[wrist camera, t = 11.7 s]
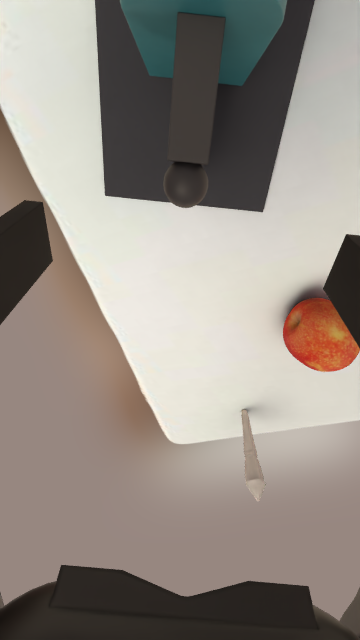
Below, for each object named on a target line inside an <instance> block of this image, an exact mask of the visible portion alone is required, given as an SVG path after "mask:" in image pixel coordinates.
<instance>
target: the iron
mask: <svg viewBox="0 0 360 640" xmlns="http://www.w3.org/2000/svg"><path fill="white" fill-rule="evenodd" d="M120 4H121V7H122V10H123V12H124V15H125V17H126V19H127V22H128V24H129V27H130V29H131V32H132V34H133V36H134V39H135V41H136V44H137V46H138V49H139V51H140V53H141V56H142V58H143V61H144V63H145V66H146V68H147V70H148V73H149V75H150V76H157V77H166V78H173V84H172V99H171V113H170V127H169V142H168V156H167V160H168V161H172V162H174V163H173V164H172V165H171V166H170V167H169V168H168V169H167V171H166V173H165V176H164V181H163V186H164V191H165V194H166V196H167V198H168V199H169V200H170V201H171V202H172V203H173V204H175V205H176V206H179V207H182V208H189V207H193V206H195V205H197V204H198V203H200V202H201V201H202V200H203V198H204V197H205V195H206V193H207V189H208V177H207V174H206V172H205V170H204V168H203V167H202V165H207V164H208V162H209V154H210V146H211V138H212V129H213V121H214V113H215V104H216V96H217V88H218V83H220V84H229V85H238V86H242V85H243V84H244V82H245V81H246V79H247V78H248V76H249V75H250V73H251V71H252V70H253V68H254V67H255V65H256V64H257V62H258V61H259V59H260V57H261V56H262V54H263V53H264V51H265V50H266V48H267V47H268V45H269V43H270V42H271V40H272V39H273V37H274V36H275V34H276V33H277V31H278V29H279V28H280V27H281V25H282V23H283V20H284V15H285V9H286V4H287V0H120Z"/></svg>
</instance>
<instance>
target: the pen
mask: <svg viewBox="0 0 360 640" xmlns="http://www.w3.org/2000/svg"><path fill="white" fill-rule="evenodd" d="M242 425H243V438H244V454H245V478H246V485H247V487H248V488H249V490H250V491H251V493H252V494H253V496H254V497H255V498H256V500H257V501H259V500H260V498H261V496H262V493H263V489H264V487H265V485H266V484H265V482H264V478H263V474H262V470H261V467H260V464H259V461H258V459H257V452H256V448H255V444H254V440H253V436H252V431H251V426H250V421H249V416H248V413H247V411H246V410H242Z"/></svg>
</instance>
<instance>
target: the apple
mask: <svg viewBox="0 0 360 640" xmlns="http://www.w3.org/2000/svg"><path fill="white" fill-rule="evenodd" d="M283 338H284V342H285V345H286V347H287V349H288V350H289V352H290V353H291V354H292V355H293V356H294V357H295V358H296V359H297V360H299V361H300V362H301V363H303V364H304V365H306V366H307V367H309V368H311V369H314V370H317V371H323V372H329V371H337V370H340V369H343V368H345V367H347V366H348V365H350V364H351V363H352V362H353V360H354V359H355V358H356V356H357V355H358V353H359V351H360V348H359V347H358V345H357V343H356V342H355V340H354V338H353V337H352V335H351V334H350V332H349V330H348V329H347V327H346V325H345V324H344V322H343V320H342V319H341V317H340V315H339V314H338V312H337V310H336V309H335V307H334V306H333V304H332V302H331V301H330V300H327V299H323V298H310V299H306V300H303V301H301V302H299V303H298V304H297V305H296V306H294V308H293V309H292V310H291V312H290V313H289V315H288V316H287V318H286V320H285V324H284V328H283Z"/></svg>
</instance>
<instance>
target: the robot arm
mask: <svg viewBox="0 0 360 640" xmlns="http://www.w3.org/2000/svg"><path fill="white" fill-rule="evenodd" d="M52 261H53V260H52V254H51V248H50V242H49V237H48V231H47V224H46V219H45V213H44V207H43V202H36V201H26V200H24V201H23V202H21V203H20V204H19V205H17V206H16V207H14V208H13V209H11V210H10V211H8V212H7V213H5V214H4V215H2V216H1V217H0V325H1V323H2V322H3V321H4V320H5V318H6V317H7V316H8V315H9V314H10V312H11V311H12V310H13V309H14V307H15V306H16V305H17V304H18V302H19V301H20V300H21V299H22V297H23V296H24V295H25V294H26V293H27V292H28V290H29V289H30V288H31V286H33V284H34V283H35V282H36V281H37V279H38V278H39V277H40V276H41V274H42V273H43V272H44V271H45V270H46V268H47V267H48V266H49V265H50V264H51V262H52ZM323 289H324V291H325V292H326V294H327V296H328V297H329V299H330V301H331V302H332V304H333V306H334V307H335V309H336V310H337V312H338V314H339V315H340V317H341V319H342V320H343V322H344V324H345V325H346V327H347V329H348V330H349V332H350V334H351V335H352V337H353V338H354V340H355V342H356V343H357V345H358V347H359V348H360V236H359V235H349V234H346V236H345V238H344V241H343V243H342V245H341V248H340V250H339V252H338V255H337V257H336V259H335V262H334V264H333V267H332V269H331V271H330V274H329V276H328V278H327V281H326V283H325V285H324V288H323ZM0 640H360V588H359V590H358V592H357V595H356V597H355V598H354V600H353V601H352V603H351V604H350V606H349V607H348V609H347V610H346V611H345V612H344V614H343V616H342V618H341V620H340V621H338V620H337V619H335V618H334V617H333V616H331V615H330V614H328V613H326V612H324V611H323V610H321V609H319V608H318V607H316V606H314V605H312V600H311V596H310V591H309V587H308V586H299V585H288V584H277V583H265V582H253V581H247V582H243V583H239V584H236V585H232V586H228V587H224V588H221V589H217V590H213V591H209V592H206V593H202V594H198V595H194V596H189V597H184V596H180V595H178V594H175V593H173V592H171V591H168V590H166V589H164V588H162V587H159V586H157V585H155V584H153V583H150V582H148V581H146V580H143V579H141V578H139V577H137V576H134V575H132V574H130V573H128V572H125V571H123V570H115V569H103V568H91V567H79V566H68V565H61V568H60V571H59V575H58V578H57V581H55V582H51V583H47V584H45V585H42V586H40V587H37V588H35V589H32V590H30V591H28V592H26V593H25V594H23V595H21V596H19V597H17V598H16V599H14V600H12V601H11V602H9V603H8V604H7V605H5V606H4V603H3V600H2V596H1V593H0Z"/></svg>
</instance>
